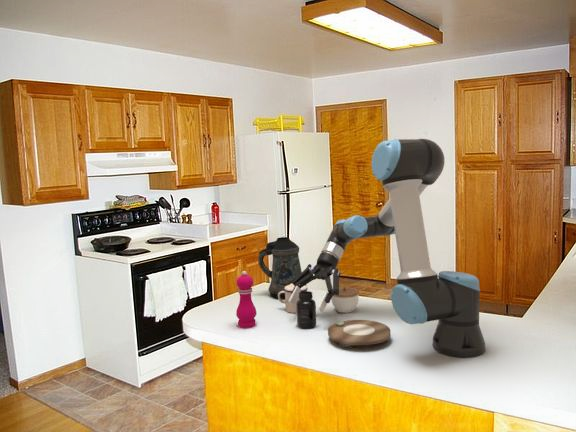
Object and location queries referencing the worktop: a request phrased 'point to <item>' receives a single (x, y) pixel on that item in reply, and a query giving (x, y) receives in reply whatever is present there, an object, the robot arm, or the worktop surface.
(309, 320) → the supplement bottle
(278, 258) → the beer stein
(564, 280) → the worktop surface
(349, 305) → the lidded jar
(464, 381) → the worktop surface
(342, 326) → the stand
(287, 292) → the teacup with lid
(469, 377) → the worktop surface
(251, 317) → the pepper mill
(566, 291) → the worktop surface
